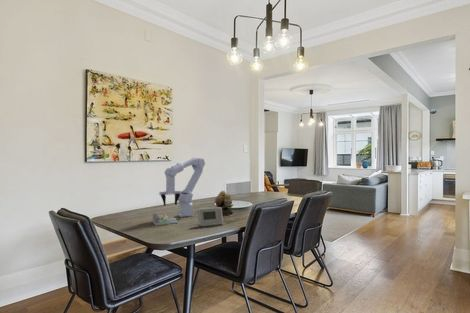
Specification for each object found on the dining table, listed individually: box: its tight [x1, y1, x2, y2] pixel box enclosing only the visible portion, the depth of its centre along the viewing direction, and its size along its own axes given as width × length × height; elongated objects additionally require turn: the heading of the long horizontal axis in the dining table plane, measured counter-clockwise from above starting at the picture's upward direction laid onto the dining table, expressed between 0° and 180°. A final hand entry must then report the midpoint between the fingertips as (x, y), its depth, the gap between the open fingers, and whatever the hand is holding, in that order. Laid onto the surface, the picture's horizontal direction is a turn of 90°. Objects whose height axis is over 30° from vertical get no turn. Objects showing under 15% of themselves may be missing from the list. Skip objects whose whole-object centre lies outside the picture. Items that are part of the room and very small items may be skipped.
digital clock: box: [197, 206, 224, 227], centre depth 183 cm, size 16×9×11 cm, turn 102°
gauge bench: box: [152, 213, 179, 226], centre depth 189 cm, size 14×11×5 cm
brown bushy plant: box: [214, 190, 234, 216], centre depth 220 cm, size 18×12×17 cm, turn 48°
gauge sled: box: [159, 214, 169, 220], centre depth 188 cm, size 5×5×4 cm
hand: (170, 204), depth 199 cm, fingers open, 7 cm apart
